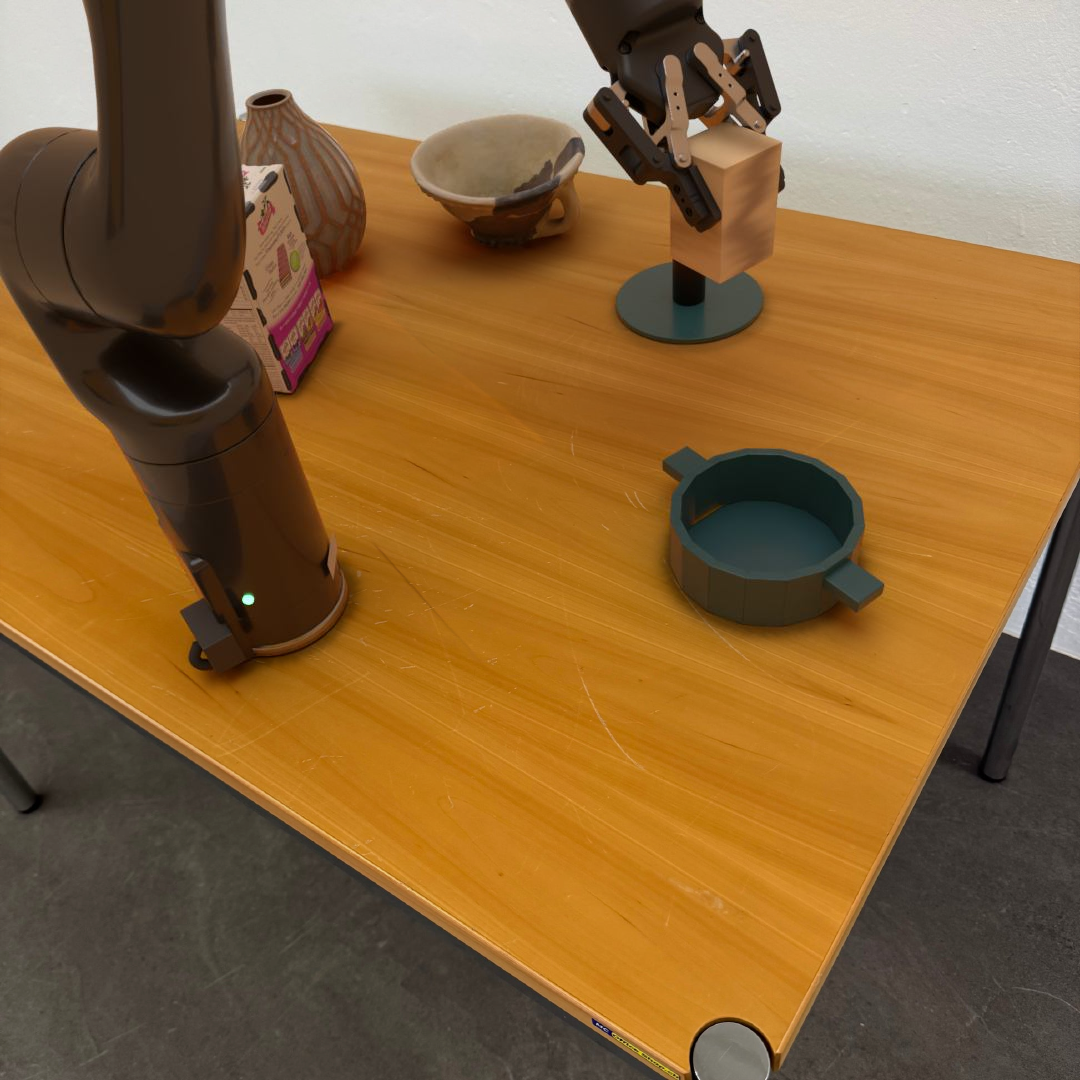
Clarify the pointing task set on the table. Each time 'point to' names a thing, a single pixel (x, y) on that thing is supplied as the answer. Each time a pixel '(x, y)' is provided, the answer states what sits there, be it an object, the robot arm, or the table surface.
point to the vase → (308, 176)
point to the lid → (687, 304)
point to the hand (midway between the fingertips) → (743, 209)
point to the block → (731, 202)
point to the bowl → (503, 176)
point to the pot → (766, 536)
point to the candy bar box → (278, 282)
